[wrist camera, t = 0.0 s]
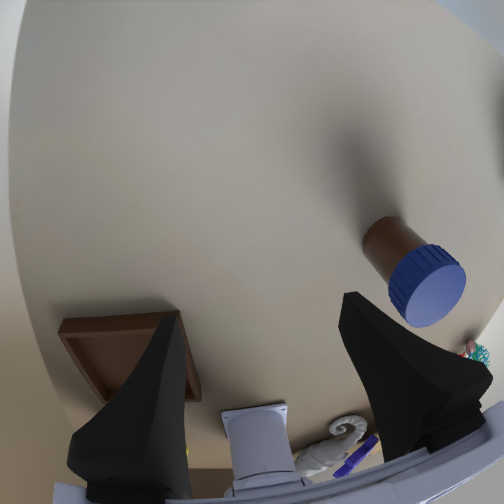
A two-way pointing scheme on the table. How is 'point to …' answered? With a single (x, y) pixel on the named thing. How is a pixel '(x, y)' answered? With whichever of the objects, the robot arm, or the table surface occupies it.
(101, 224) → the table surface
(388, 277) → the jar
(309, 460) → the seahorse
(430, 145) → the table surface
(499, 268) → the table surface
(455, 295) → the jar lid
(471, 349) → the anatomy model
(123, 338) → the tray
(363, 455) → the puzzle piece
